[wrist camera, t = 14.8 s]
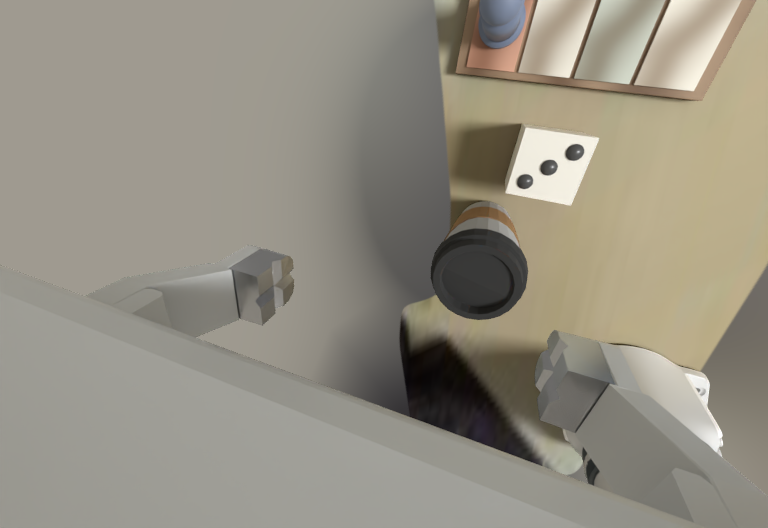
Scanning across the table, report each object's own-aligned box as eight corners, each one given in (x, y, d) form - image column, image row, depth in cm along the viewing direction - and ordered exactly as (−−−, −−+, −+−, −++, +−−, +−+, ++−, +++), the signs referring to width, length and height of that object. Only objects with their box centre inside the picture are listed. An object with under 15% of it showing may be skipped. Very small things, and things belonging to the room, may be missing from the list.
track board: (761, -23, 24) (772, -28, 23) (695, 100, 28) (703, 100, 27) (477, -33, 29) (476, -38, 28) (456, 73, 33) (455, 72, 32)
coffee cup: (498, 265, 41) (496, 339, 28) (439, 238, 42) (412, 298, 29) (534, 209, 36) (552, 266, 24) (468, 180, 37) (451, 220, 25)
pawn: (530, 32, 29) (542, 6, 21) (487, 58, 31) (483, 42, 23) (516, -16, 28) (522, -63, 20) (472, 14, 29) (462, -18, 22)
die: (583, 132, 32) (599, 138, 27) (560, 190, 35) (571, 205, 30) (522, 123, 33) (525, 127, 28) (504, 180, 36) (505, 193, 31)
